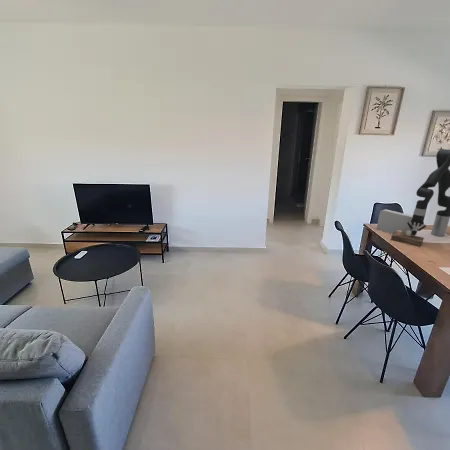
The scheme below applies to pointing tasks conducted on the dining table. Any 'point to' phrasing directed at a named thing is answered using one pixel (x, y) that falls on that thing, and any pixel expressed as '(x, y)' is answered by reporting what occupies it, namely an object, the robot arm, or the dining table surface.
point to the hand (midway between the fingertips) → (413, 234)
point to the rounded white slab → (394, 221)
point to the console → (408, 239)
